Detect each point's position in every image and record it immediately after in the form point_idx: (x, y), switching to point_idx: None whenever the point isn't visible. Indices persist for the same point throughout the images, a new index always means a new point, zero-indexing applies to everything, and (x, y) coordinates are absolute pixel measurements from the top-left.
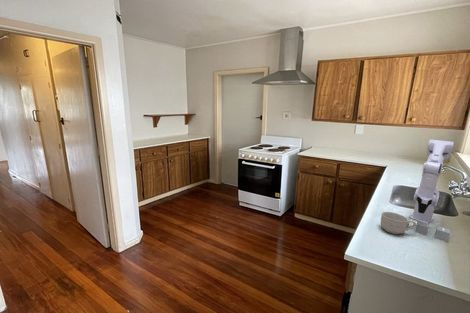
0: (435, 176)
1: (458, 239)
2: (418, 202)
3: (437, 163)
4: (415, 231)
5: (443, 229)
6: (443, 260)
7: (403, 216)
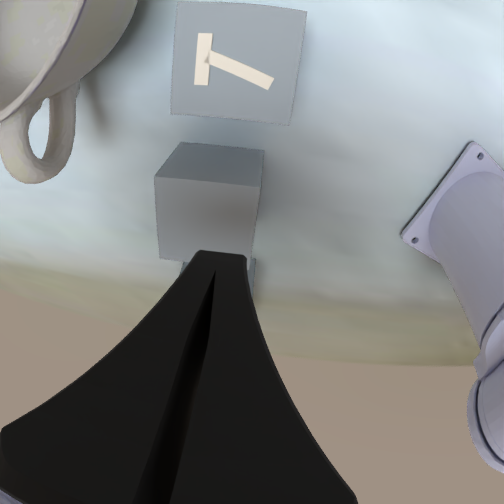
0: None
1: (268, 338)
2: (46, 407)
3: None
4: (179, 148)
5: None
6: (2, 249)
7: (49, 58)
